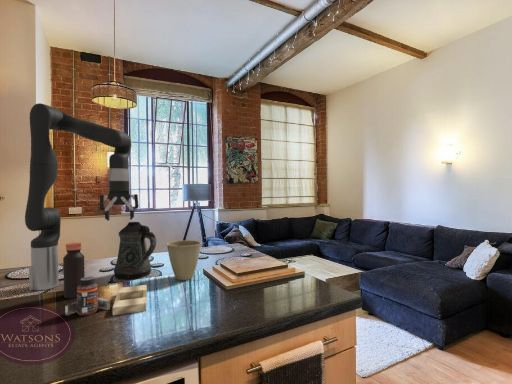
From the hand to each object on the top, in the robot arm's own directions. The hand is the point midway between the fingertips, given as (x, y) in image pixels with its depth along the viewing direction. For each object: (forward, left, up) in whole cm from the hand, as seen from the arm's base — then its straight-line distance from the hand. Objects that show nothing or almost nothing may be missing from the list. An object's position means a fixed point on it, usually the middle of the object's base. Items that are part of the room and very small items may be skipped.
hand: (119, 219), depth 118 cm
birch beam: (+5, -17, -28) cm, 33 cm away
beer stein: (+5, +19, -28) cm, 34 cm away
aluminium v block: (-8, -18, -28) cm, 34 cm away
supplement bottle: (-8, -21, -28) cm, 36 cm away
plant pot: (+26, +5, -28) cm, 39 cm away
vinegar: (-16, -2, -28) cm, 33 cm away
